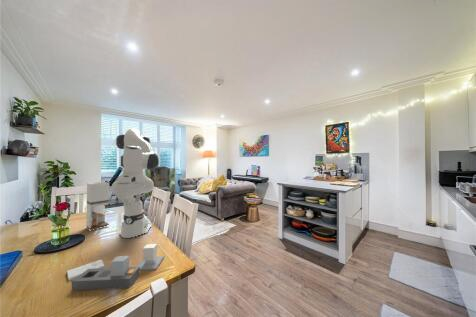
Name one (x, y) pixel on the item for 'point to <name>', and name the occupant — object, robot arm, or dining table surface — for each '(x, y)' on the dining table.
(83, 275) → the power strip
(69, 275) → the external hard drive
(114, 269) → the block
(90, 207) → the small white stand
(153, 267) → the rubber mat
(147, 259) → the block
